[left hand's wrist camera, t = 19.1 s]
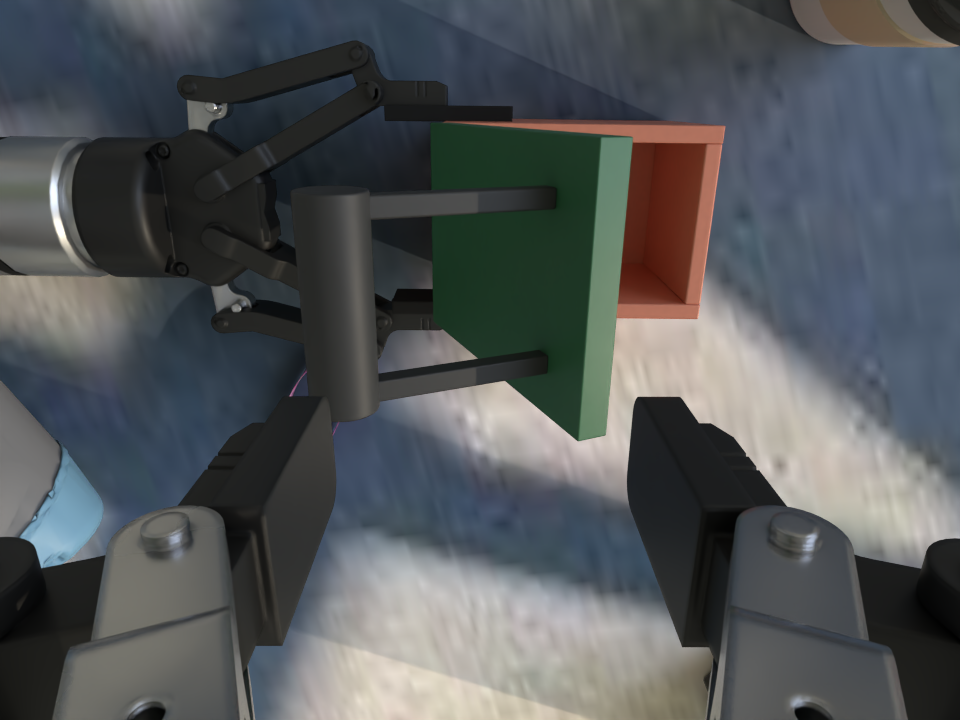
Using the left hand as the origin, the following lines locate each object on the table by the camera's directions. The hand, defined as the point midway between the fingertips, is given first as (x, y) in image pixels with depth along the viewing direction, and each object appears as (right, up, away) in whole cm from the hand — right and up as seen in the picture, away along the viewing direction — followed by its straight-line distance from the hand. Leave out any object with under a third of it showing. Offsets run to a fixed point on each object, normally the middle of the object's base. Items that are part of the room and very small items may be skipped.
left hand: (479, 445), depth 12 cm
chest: (+5, +12, +30) cm, 33 cm away
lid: (+2, +6, +15) cm, 16 cm away
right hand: (+2, +10, +25) cm, 27 cm away
